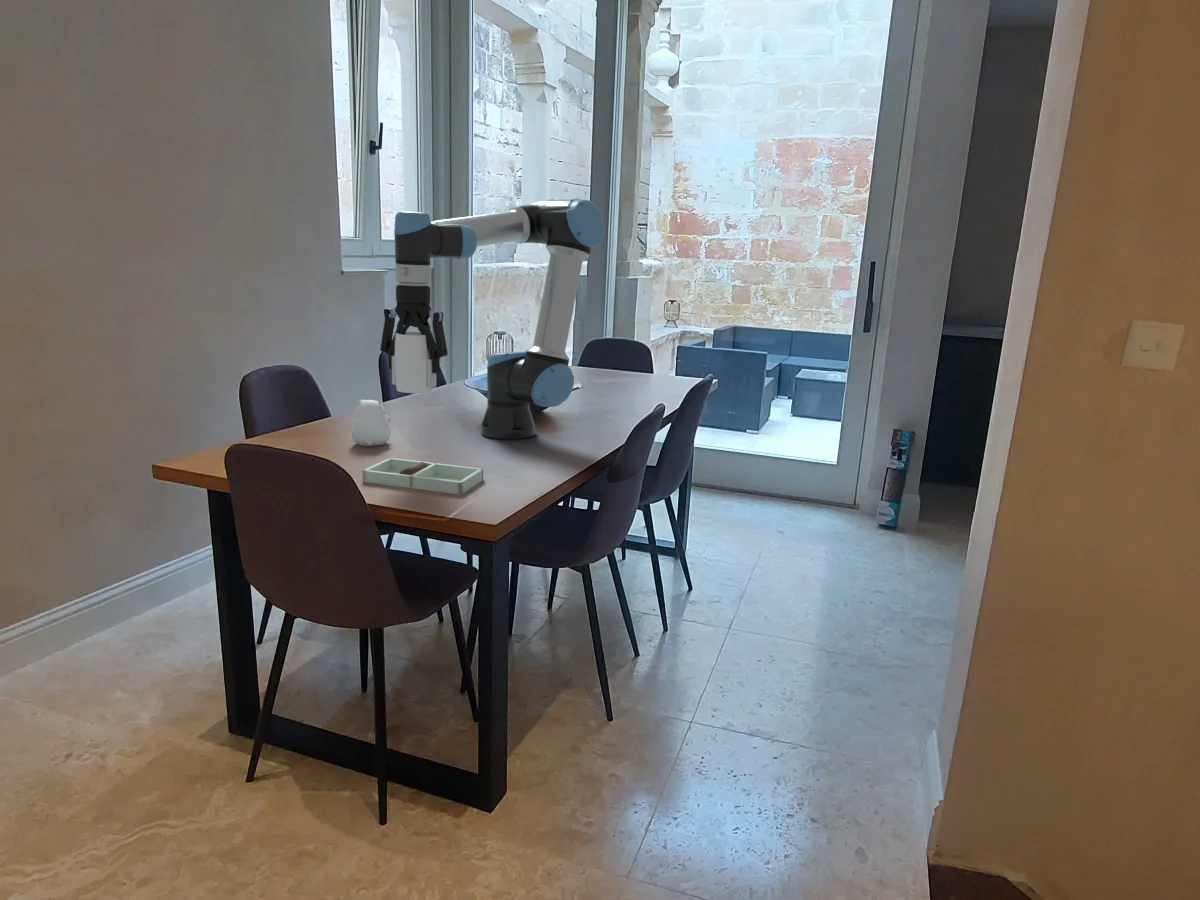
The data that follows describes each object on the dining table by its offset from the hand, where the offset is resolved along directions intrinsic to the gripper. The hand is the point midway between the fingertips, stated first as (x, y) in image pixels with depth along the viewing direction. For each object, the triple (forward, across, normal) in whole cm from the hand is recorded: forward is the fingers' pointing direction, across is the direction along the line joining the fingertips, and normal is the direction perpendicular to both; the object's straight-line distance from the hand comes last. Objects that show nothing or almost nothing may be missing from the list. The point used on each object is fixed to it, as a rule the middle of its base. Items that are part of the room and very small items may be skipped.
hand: (414, 385), depth 180 cm
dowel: (+17, +4, -10) cm, 20 cm away
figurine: (+20, -20, +14) cm, 31 cm away
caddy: (+20, +8, -10) cm, 23 cm away
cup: (+3, 0, 0) cm, 3 cm away
